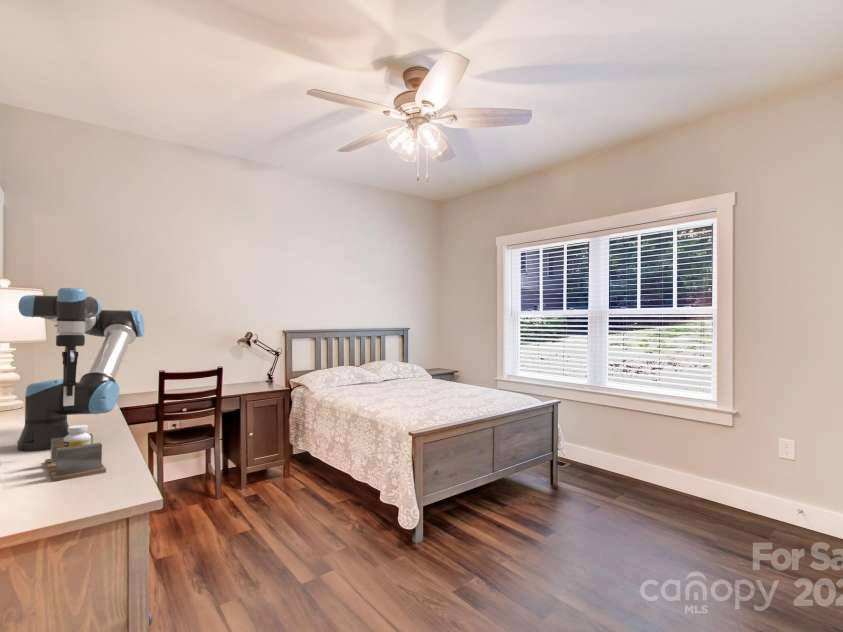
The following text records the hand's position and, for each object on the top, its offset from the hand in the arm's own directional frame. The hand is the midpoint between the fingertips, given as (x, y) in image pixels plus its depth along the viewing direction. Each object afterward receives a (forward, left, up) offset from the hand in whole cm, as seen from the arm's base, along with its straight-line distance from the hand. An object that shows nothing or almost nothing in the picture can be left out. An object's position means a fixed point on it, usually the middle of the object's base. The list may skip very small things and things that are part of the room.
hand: (68, 405), depth 147 cm
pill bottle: (+20, 0, -16) cm, 26 cm away
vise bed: (+18, 0, -16) cm, 24 cm away
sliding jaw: (+9, 0, -15) cm, 18 cm away
